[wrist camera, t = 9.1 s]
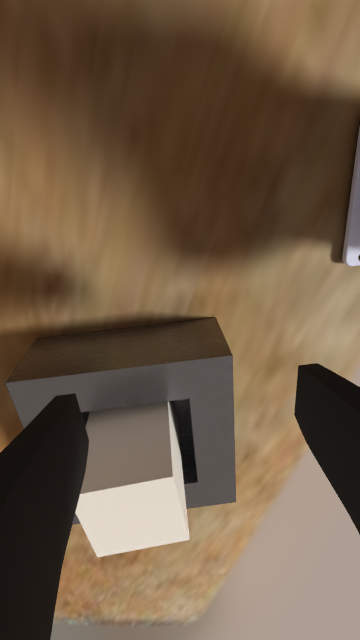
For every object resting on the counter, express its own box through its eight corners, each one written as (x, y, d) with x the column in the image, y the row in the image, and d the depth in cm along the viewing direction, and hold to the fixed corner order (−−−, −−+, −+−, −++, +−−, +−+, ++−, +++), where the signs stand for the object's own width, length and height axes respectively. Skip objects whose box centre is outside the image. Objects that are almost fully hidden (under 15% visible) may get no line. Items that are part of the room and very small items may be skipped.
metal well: (215, 317, 19) (232, 355, 15) (221, 446, 24) (235, 501, 20) (36, 338, 19) (5, 383, 15) (78, 465, 24) (62, 525, 20)
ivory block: (165, 367, 20) (172, 476, 13) (177, 419, 22) (189, 539, 15) (98, 380, 20) (67, 496, 13) (115, 431, 22) (97, 557, 15)
